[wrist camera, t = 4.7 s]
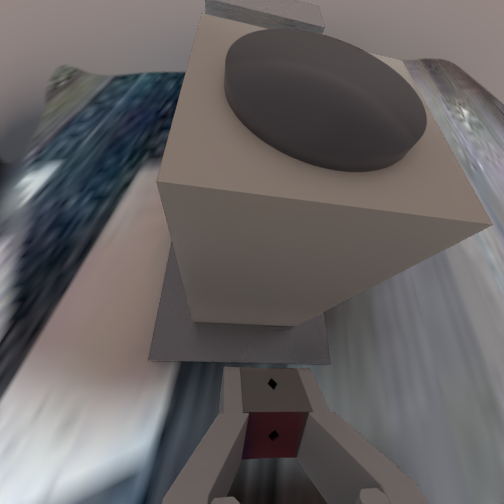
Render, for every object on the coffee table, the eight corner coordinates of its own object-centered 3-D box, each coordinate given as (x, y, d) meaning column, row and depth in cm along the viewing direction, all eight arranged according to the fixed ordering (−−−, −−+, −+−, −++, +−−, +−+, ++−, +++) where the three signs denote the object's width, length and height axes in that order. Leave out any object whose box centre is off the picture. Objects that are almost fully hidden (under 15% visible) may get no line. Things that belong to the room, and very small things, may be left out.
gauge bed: (323, 364, 14) (434, 357, 7) (152, 361, 13) (87, 347, 6) (293, 103, 27) (324, 7, 20) (204, 86, 25) (203, -24, 18)
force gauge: (295, 326, 14) (518, 212, 4) (192, 321, 13) (150, 159, 3) (287, 206, 18) (386, 3, 8) (208, 196, 17) (212, -44, 7)
